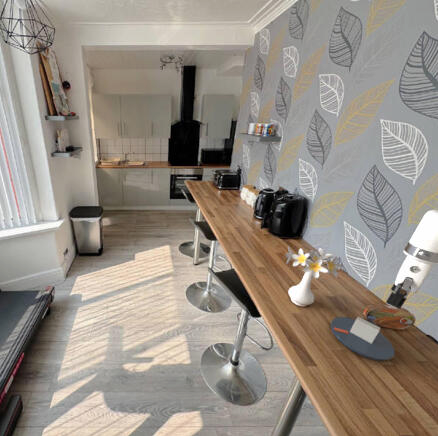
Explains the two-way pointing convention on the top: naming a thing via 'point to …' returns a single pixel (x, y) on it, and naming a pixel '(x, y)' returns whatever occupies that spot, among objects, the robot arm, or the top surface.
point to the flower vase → (310, 273)
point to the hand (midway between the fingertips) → (395, 298)
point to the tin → (389, 316)
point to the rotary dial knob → (362, 338)
